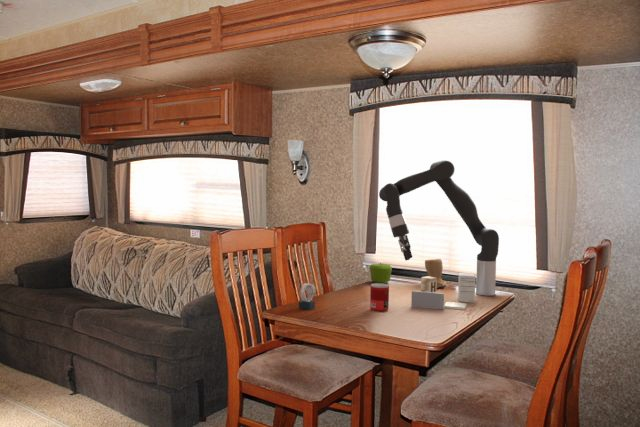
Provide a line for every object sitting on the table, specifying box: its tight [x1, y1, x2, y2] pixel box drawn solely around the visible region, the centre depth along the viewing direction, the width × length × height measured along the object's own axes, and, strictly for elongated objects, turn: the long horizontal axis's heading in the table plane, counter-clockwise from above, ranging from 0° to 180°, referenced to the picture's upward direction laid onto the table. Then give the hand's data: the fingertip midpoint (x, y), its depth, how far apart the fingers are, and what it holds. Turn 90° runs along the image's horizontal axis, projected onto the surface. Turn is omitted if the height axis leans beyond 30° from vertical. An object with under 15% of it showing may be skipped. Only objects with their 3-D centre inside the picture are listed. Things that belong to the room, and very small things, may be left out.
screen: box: [410, 290, 445, 310], centre depth 232 cm, size 2×14×7 cm, turn 70°
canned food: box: [369, 282, 390, 313], centre depth 227 cm, size 8×8×11 cm
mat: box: [444, 301, 467, 311], centre depth 234 cm, size 9×9×1 cm
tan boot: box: [424, 258, 447, 289], centre depth 285 cm, size 15×12×15 cm
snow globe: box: [298, 282, 316, 311], centre depth 227 cm, size 6×8×11 cm
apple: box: [369, 262, 393, 284], centre depth 293 cm, size 12×12×11 cm
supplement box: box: [457, 272, 476, 303], centre depth 248 cm, size 7×7×13 cm
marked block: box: [420, 275, 437, 293], centre depth 241 cm, size 5×5×12 cm
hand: (408, 259), depth 240 cm, fingers open, 8 cm apart
